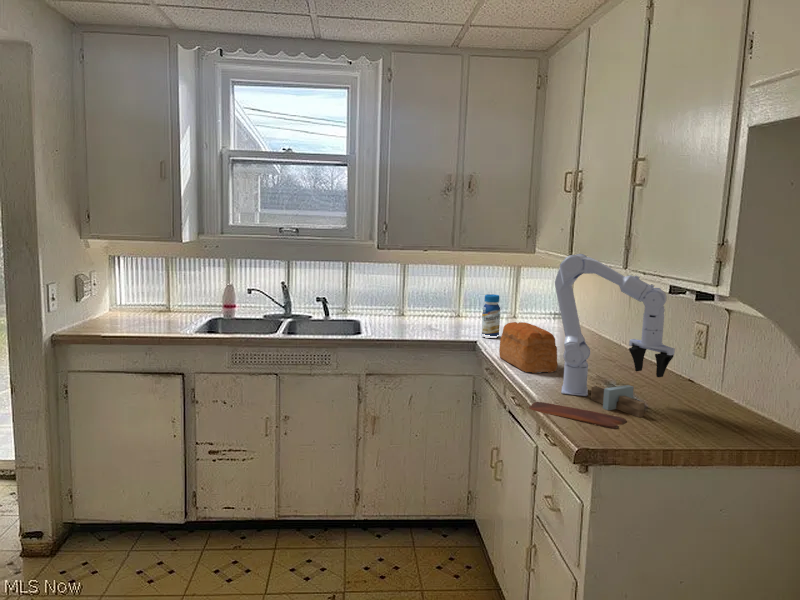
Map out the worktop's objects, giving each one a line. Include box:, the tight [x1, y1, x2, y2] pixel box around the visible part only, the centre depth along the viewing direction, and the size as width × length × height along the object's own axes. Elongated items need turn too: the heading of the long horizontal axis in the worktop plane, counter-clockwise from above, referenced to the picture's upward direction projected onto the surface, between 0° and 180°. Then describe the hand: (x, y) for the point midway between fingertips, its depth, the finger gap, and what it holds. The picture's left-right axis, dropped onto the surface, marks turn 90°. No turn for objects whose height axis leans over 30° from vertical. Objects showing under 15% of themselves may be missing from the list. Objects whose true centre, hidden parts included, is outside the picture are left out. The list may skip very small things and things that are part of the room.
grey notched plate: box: [602, 384, 634, 411], centre depth 173 cm, size 10×2×6 cm, turn 118°
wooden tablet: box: [528, 401, 627, 430], centre depth 166 cm, size 27×10×2 cm, turn 52°
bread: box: [498, 321, 559, 374], centre depth 223 cm, size 14×27×15 cm, turn 13°
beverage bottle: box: [481, 293, 501, 336], centre depth 273 cm, size 8×8×20 cm
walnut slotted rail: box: [590, 385, 646, 418], centre depth 173 cm, size 18×2×4 cm, turn 28°
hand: (648, 373), depth 176 cm, fingers open, 7 cm apart
